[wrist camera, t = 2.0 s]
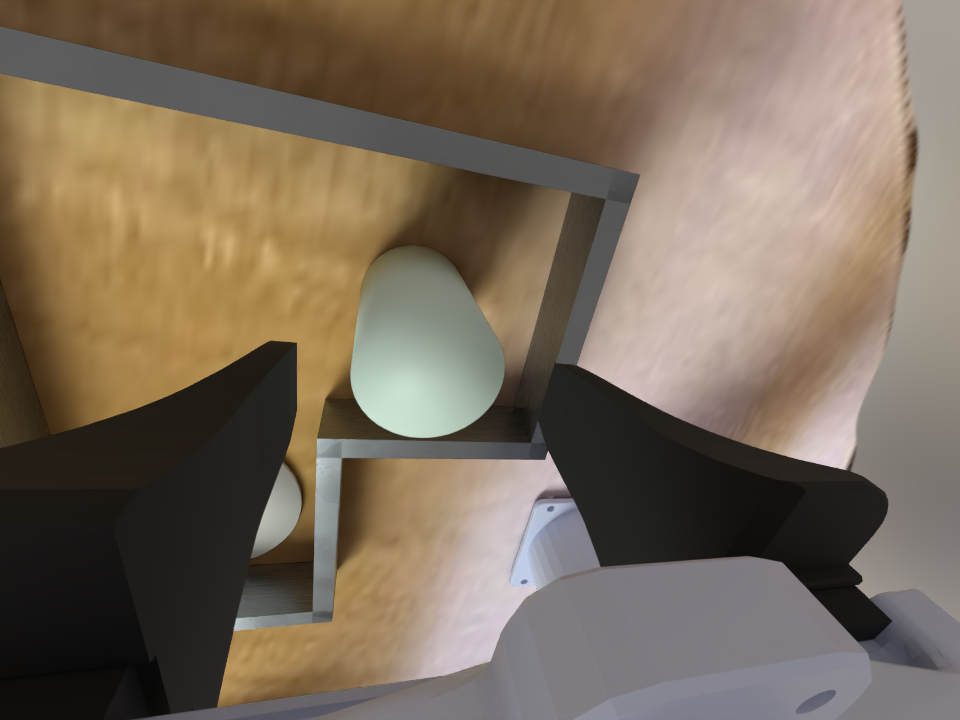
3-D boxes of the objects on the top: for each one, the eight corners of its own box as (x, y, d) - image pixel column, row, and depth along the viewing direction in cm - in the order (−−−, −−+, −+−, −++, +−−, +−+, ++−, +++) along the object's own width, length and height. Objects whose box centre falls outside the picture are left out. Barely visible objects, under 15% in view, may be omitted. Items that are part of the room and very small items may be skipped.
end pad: (302, 432, 20) (301, 436, 20) (301, 557, 24) (300, 561, 24) (76, 426, 18) (71, 431, 17) (115, 566, 21) (112, 571, 21)
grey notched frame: (600, 169, 17) (640, 174, 15) (485, 562, 28) (496, 605, 25) (-138, 0, 11) (-296, -43, 8) (75, 587, 22) (34, 649, 19)
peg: (472, 253, 18) (520, 313, 12) (455, 347, 20) (488, 439, 14) (364, 237, 16) (355, 294, 10) (357, 338, 18) (346, 436, 12)
